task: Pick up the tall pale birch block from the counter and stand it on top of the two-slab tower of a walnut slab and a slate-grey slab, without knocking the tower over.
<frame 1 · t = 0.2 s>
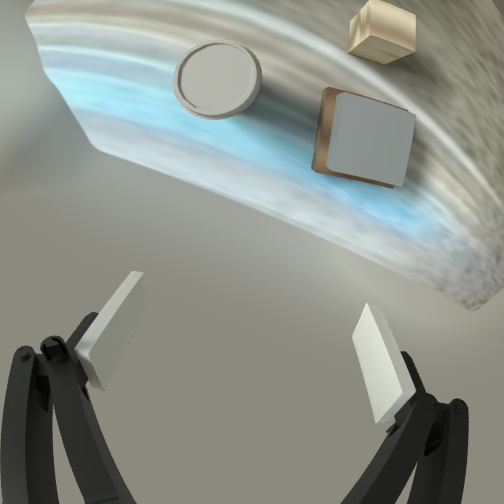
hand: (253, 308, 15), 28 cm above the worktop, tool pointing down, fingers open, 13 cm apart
base slab: (355, 137, 36), on the worktop
top slab: (366, 138, 32), point 4 cm above the worktop
disposable coffee cup: (230, 90, 34), on the worktop
birch block: (368, 42, 28), on the worktop
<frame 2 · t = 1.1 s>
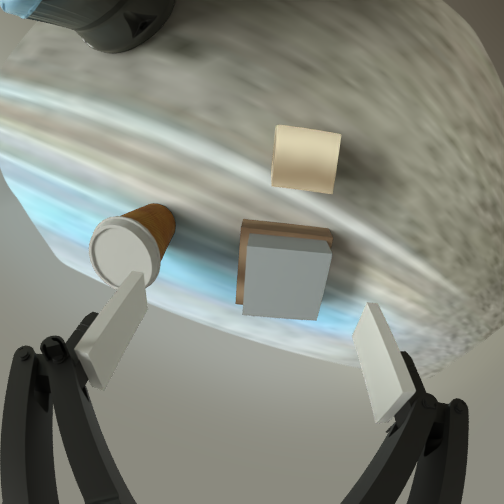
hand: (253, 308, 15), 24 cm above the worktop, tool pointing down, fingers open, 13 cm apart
base slab: (280, 259, 41), on the worktop, touching top slab
top slab: (283, 270, 37), point 3 cm above the worktop, touching base slab
disposable coffee cup: (156, 223, 39), on the worktop
birch block: (296, 151, 33), on the worktop
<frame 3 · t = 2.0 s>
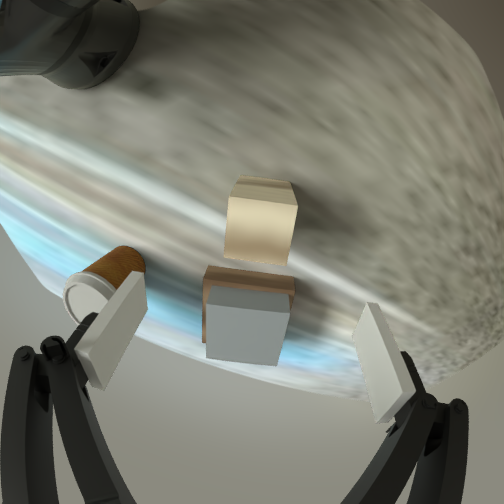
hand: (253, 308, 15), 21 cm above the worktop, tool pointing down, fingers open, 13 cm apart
base slab: (246, 302, 41), on the worktop, touching top slab
top slab: (246, 318, 38), point 3 cm above the worktop, touching base slab
disposable coffee cup: (128, 263, 39), on the worktop
birch block: (261, 201, 34), on the worktop
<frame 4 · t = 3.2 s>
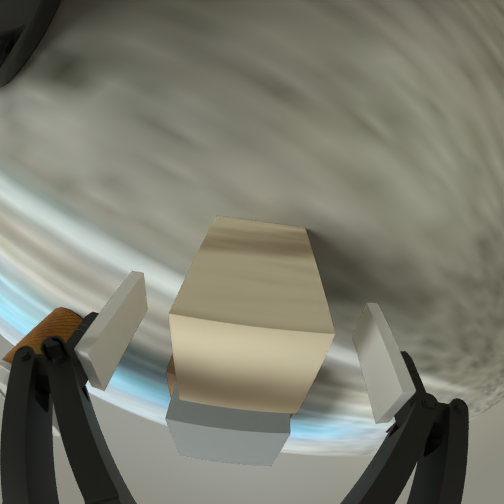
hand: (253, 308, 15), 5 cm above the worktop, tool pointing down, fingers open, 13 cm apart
top slab: (230, 415, 24), point 3 cm above the worktop, touching base slab
disposable coffee cup: (74, 328, 25), on the worktop
birch block: (255, 260, 20), on the worktop
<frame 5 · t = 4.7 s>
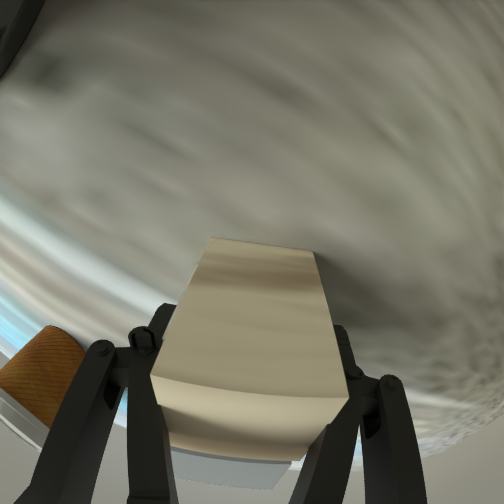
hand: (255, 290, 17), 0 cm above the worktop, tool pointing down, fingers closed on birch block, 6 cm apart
top slab: (228, 440, 21), point 3 cm above the worktop, touching base slab
disposable coffee cup: (65, 346, 23), on the worktop
birch block: (255, 287, 17), on the worktop, touching gripper
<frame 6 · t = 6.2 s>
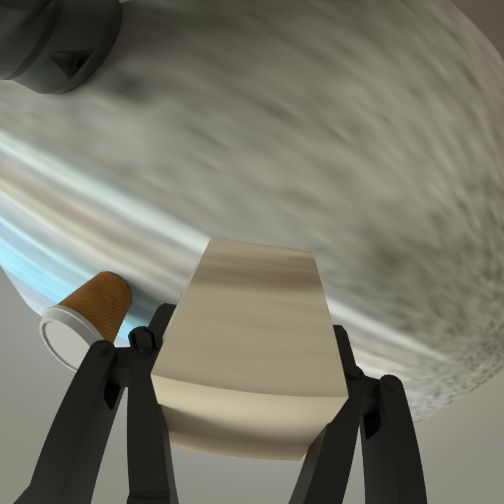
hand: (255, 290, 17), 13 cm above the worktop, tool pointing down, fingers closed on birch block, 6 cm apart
disposable coffee cup: (113, 290, 34), on the worktop
birch block: (255, 286, 17), point 12 cm above the worktop, touching gripper
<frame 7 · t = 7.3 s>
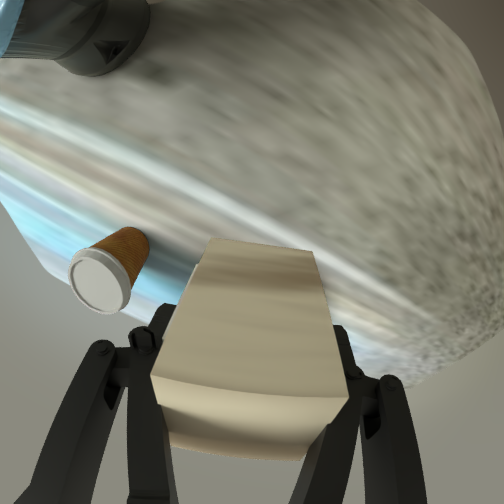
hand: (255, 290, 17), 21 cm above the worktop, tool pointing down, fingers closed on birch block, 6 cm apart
disposable coffee cup: (132, 244, 40), on the worktop
birch block: (255, 286, 17), point 21 cm above the worktop, touching gripper
when the fingers open (10 cm above the worktop, at t = 10.1 s): birch block drops 2 cm, point 8 cm above the worktop.
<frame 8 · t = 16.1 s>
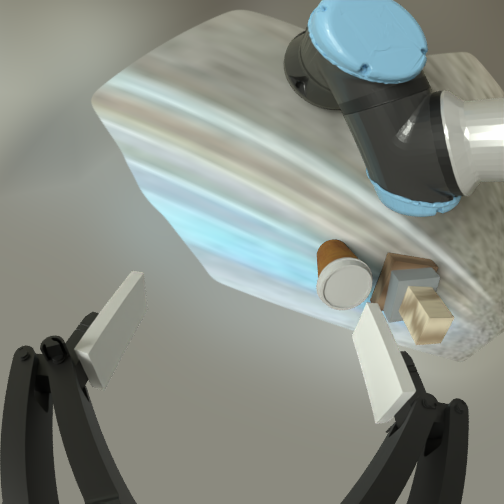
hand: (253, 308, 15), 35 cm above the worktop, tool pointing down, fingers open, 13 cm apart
base slab: (400, 279, 54), on the worktop, touching top slab
top slab: (407, 289, 50), point 3 cm above the worktop, touching base slab
disposable coffee cup: (332, 253, 52), on the worktop
birch block: (415, 299, 47), point 8 cm above the worktop
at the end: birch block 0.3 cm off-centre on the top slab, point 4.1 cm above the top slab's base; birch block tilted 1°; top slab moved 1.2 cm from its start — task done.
